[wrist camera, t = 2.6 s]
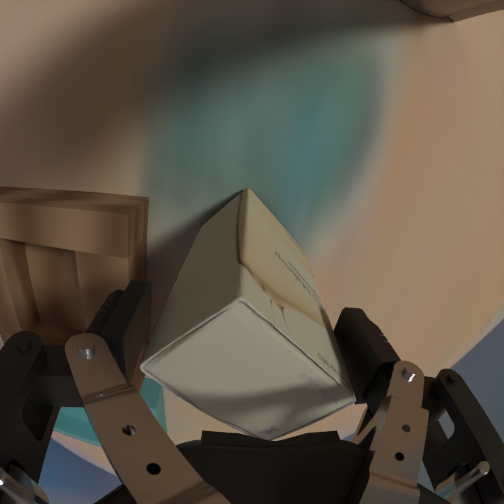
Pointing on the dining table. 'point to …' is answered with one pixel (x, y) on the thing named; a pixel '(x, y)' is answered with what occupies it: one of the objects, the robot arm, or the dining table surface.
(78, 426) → the tray
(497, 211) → the dining table surface
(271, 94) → the dining table surface
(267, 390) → the skincare box
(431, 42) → the dining table surface
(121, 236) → the wooden square frame
